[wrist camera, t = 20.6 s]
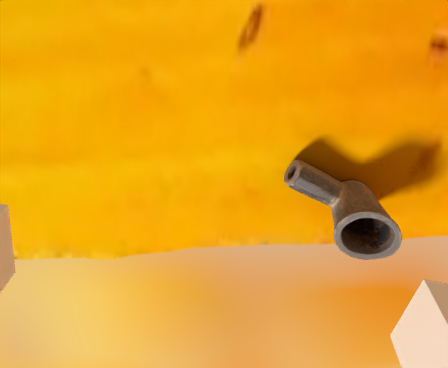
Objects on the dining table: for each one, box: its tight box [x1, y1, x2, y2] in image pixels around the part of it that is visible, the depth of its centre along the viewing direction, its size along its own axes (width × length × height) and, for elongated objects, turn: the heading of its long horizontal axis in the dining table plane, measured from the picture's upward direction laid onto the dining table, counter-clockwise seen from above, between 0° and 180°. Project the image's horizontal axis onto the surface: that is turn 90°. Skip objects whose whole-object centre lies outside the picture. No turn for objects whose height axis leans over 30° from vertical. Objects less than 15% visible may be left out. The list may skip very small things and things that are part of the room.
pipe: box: [284, 159, 402, 260], centre depth 44 cm, size 6×13×8 cm, turn 61°
